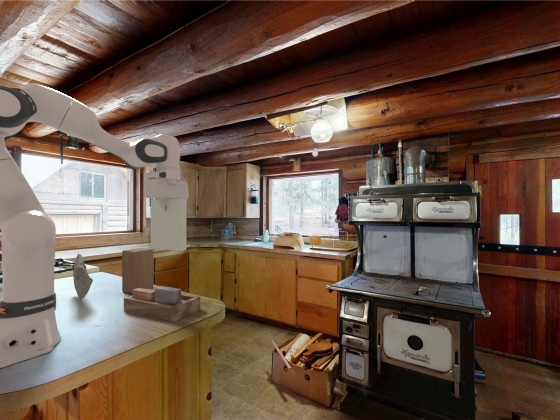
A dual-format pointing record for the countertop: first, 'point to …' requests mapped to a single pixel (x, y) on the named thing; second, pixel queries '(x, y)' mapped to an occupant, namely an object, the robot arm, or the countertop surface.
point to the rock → (81, 277)
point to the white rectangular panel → (168, 225)
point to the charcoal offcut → (168, 295)
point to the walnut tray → (163, 307)
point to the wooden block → (137, 269)
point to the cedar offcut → (144, 294)
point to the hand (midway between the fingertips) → (168, 210)
